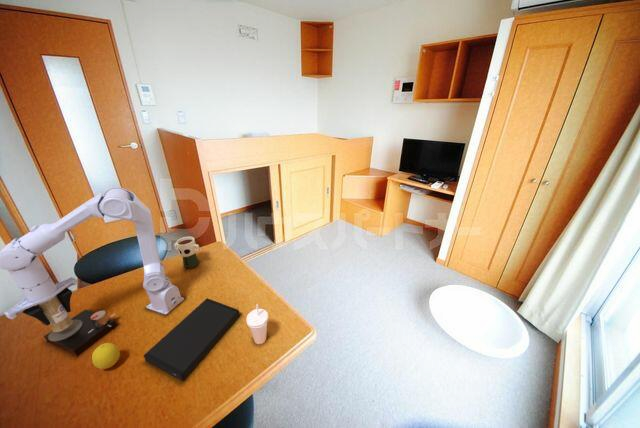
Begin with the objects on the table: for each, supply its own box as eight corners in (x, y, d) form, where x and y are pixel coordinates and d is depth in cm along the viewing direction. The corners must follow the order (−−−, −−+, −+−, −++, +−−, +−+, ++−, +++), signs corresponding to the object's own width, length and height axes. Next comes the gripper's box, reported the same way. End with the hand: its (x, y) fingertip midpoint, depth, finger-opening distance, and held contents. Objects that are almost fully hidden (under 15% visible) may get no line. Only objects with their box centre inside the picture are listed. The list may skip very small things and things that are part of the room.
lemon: (103, 379, 63) (91, 360, 60) (95, 368, 66) (83, 349, 63) (127, 362, 68) (117, 343, 64) (118, 352, 70) (108, 333, 67)
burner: (88, 324, 76) (88, 323, 76) (58, 344, 69) (58, 344, 69) (73, 317, 78) (72, 316, 78) (42, 337, 71) (42, 336, 71)
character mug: (175, 269, 105) (167, 244, 99) (184, 259, 111) (178, 235, 106) (199, 270, 104) (193, 245, 99) (207, 260, 111) (201, 236, 105)
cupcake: (106, 316, 78) (101, 308, 77) (111, 321, 77) (107, 312, 75) (92, 324, 76) (87, 316, 74) (98, 329, 74) (93, 320, 72)
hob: (126, 322, 80) (123, 316, 78) (80, 357, 69) (76, 351, 67) (94, 310, 84) (91, 304, 83) (47, 341, 73) (43, 335, 72)
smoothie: (274, 333, 77) (271, 301, 71) (263, 351, 71) (259, 317, 65) (257, 327, 79) (252, 295, 73) (245, 344, 73) (239, 311, 67)
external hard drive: (239, 316, 83) (238, 309, 81) (183, 382, 63) (180, 375, 62) (208, 304, 87) (206, 298, 86) (146, 362, 68) (142, 355, 66)
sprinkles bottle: (71, 328, 72) (50, 294, 66) (50, 335, 70) (27, 301, 64) (75, 317, 76) (55, 285, 70) (55, 324, 73) (33, 291, 68)
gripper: (59, 263, 73) (77, 296, 79) (-14, 296, 60) (15, 333, 66) (74, 268, 71) (92, 302, 77) (2, 303, 58) (30, 341, 64)
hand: (57, 317), depth 71 cm, fingers closed on sprinkles bottle, 4 cm apart
